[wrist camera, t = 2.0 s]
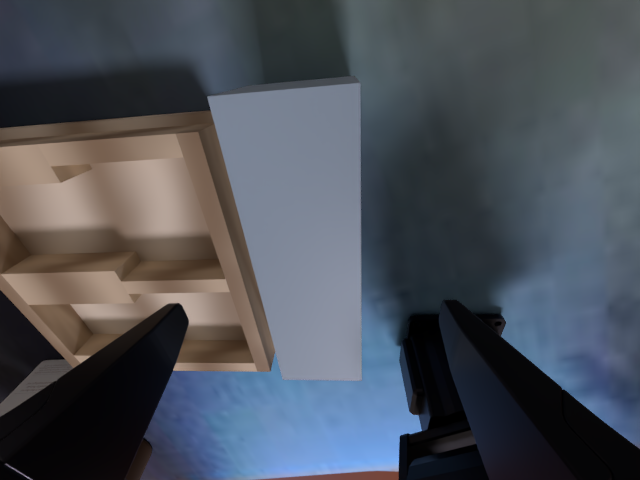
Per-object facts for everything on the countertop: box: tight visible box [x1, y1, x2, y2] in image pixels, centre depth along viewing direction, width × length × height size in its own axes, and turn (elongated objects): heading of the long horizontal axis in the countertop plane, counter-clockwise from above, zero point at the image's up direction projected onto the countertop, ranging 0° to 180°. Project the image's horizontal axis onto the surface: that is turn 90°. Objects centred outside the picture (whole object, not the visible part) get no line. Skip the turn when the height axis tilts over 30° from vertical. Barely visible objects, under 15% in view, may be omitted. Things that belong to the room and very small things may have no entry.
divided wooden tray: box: [0, 110, 275, 372], centre depth 18 cm, size 20×18×3 cm
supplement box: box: [0, 360, 73, 417], centre depth 23 cm, size 7×7×13 cm
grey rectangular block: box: [207, 76, 362, 381], centre depth 13 cm, size 4×13×6 cm, turn 5°
